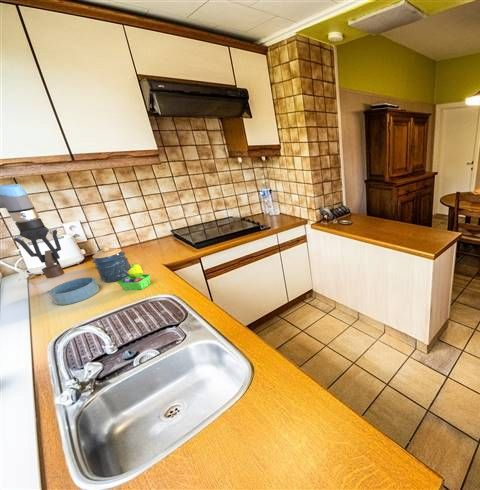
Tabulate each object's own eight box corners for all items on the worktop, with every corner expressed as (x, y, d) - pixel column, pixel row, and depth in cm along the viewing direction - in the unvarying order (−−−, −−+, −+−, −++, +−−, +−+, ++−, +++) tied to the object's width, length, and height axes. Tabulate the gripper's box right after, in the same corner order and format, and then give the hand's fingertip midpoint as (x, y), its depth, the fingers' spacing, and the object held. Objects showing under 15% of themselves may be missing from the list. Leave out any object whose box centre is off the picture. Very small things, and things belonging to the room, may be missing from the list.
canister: (129, 268, 152) (116, 240, 145) (137, 274, 145) (123, 244, 138) (99, 278, 142) (83, 249, 135) (106, 285, 135) (90, 254, 128)
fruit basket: (120, 291, 129) (110, 271, 124) (135, 282, 137) (126, 262, 132) (142, 291, 128) (133, 271, 124) (156, 281, 136) (148, 262, 132)
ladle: (46, 264, 130) (39, 252, 128) (62, 260, 134) (56, 248, 132) (46, 279, 115) (38, 266, 113) (64, 274, 119) (57, 262, 117)
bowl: (55, 297, 127) (48, 287, 124) (98, 284, 137) (92, 274, 135) (55, 309, 117) (48, 298, 115) (101, 294, 128) (95, 283, 125)
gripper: (-1, 226, 110) (30, 275, 119) (52, 216, 120) (77, 262, 130) (0, 222, 115) (30, 270, 124) (52, 214, 125) (76, 258, 134)
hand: (54, 266), depth 127 cm, fingers closed on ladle, 2 cm apart
